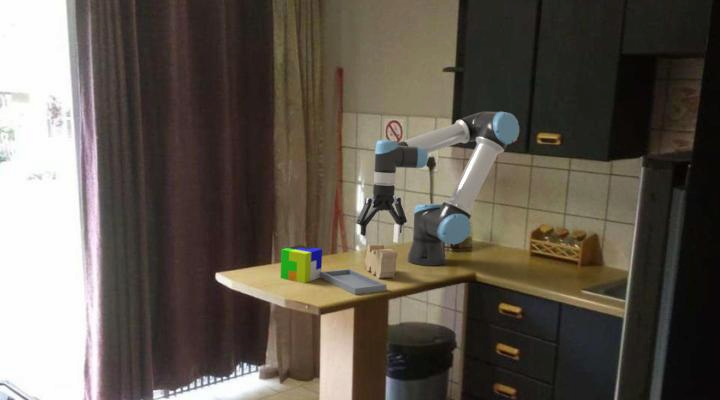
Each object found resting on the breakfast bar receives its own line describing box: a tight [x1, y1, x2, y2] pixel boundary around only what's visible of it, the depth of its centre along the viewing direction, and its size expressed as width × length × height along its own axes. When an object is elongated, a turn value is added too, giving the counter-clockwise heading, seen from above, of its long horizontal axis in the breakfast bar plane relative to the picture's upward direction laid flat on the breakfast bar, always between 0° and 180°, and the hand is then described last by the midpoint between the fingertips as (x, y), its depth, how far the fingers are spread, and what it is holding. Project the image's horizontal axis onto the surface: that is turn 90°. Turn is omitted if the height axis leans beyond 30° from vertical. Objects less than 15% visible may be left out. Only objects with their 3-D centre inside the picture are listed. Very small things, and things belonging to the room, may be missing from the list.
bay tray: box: [319, 268, 387, 295], centre depth 213 cm, size 23×12×2 cm, turn 32°
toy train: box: [364, 243, 399, 279], centre depth 227 cm, size 6×17×10 cm, turn 20°
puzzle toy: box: [280, 244, 323, 284], centre depth 218 cm, size 10×10×10 cm
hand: (380, 243), depth 226 cm, fingers open, 13 cm apart
